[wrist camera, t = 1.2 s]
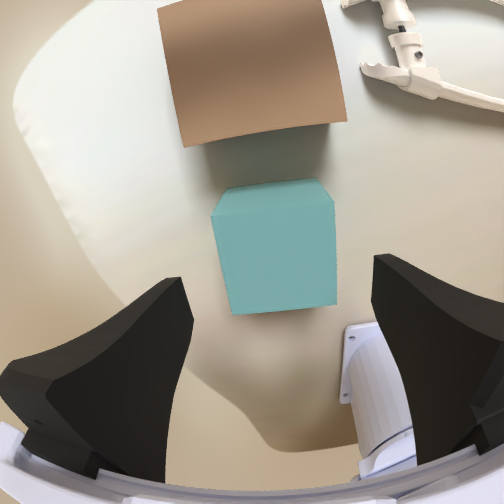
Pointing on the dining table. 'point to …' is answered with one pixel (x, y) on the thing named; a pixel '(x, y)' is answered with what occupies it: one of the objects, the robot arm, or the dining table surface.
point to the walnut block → (249, 67)
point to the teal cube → (277, 246)
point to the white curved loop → (417, 61)
